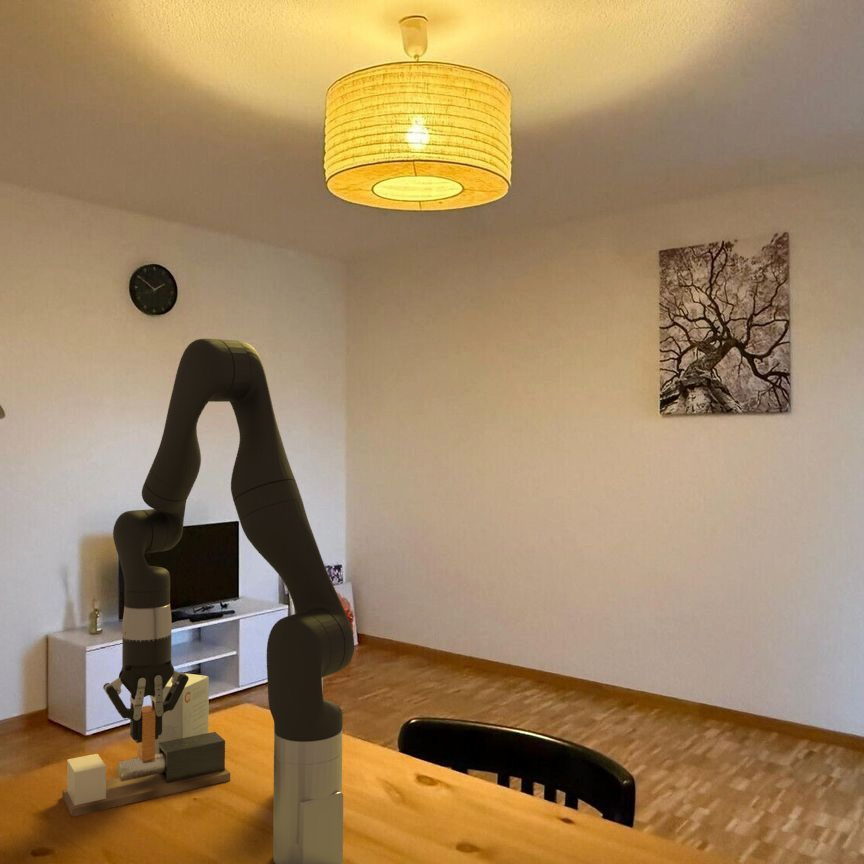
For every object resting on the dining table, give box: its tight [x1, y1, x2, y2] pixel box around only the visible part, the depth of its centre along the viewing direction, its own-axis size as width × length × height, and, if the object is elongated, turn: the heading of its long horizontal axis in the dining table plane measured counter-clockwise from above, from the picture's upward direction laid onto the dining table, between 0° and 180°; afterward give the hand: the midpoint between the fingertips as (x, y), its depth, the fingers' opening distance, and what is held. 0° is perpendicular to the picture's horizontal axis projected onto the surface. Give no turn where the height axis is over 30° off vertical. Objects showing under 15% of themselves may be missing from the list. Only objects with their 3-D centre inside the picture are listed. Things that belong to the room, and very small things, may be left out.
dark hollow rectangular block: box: [158, 731, 226, 783], centre depth 138 cm, size 10×5×5 cm, turn 124°
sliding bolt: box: [117, 704, 166, 782], centre depth 135 cm, size 14×3×11 cm, turn 124°
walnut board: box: [61, 767, 231, 818], centre depth 134 cm, size 24×8×1 cm, turn 124°
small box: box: [155, 673, 210, 755], centre depth 150 cm, size 8×6×13 cm
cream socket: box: [66, 753, 107, 806], centre depth 129 cm, size 4×6×5 cm
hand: (146, 739), depth 134 cm, fingers closed on sliding bolt, 2 cm apart
